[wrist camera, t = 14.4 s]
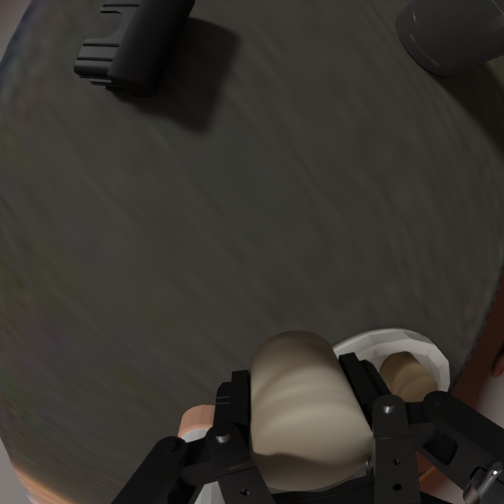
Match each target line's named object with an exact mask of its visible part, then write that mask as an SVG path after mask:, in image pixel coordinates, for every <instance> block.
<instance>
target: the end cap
mask: <svg viewBox="0 0 504 504" xmlns="http://www.w3.org/2000/svg"><path fill="white" fill-rule="evenodd" d="M194 3H195V0H106V1H105V3H104V5H103V6H102V8H101V10H100V12H101V13H119V14H121V15H122V16H123V21H122V23H121V25H120V27H119V29H118V30H117V31H116V32H115V33H113V34H112V35H110V36H108V37H106V38H102V39H86V40H85V42H84V44H83V46H82V48H81V51H80V53H79V55H78V57H77V60H76V62H75V65H74V72H75V73H76V74H78V75H79V77H80V78H89V80H88V81H90V82H91V84H92V85H100V86H102V87H103V88H105V89H109V90H117V91H124V92H128V93H129V94H130V95H132V96H137V97H151V96H154V95H155V94H156V92H157V89H158V87H159V84H160V81H161V79H162V76H163V74H164V71H165V68H166V66H167V63H168V61H169V59H170V56H171V54H172V51H173V49H174V47H175V44H176V42H177V40H178V38H179V35H180V33H181V31H182V29H183V27H184V25H185V22H186V20H187V18H188V16H189V14H190V12H191V10H192V8H193V6H194Z"/></svg>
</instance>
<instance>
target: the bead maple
mask: <svg viewBox="0 0 504 504" xmlns="http://www.w3.org/2000/svg"><path fill="white" fill-rule="evenodd" d="M249 453H250V456H251V458H252V460H253V462H255V463H256V465H257V467H258V469H259V471H260V473H261V475H262V477H263V479H264V481H265V483H266V485H267V486H269V487H272V488H275V489H280V490H287V491H304V490H312V489H318V488H322V487H326V486H329V485H332V484H334V483H337V482H339V481H341V480H343V479H345V478H347V477H349V476H350V475H352V474H353V473H355V472H356V471H357V470H359V469H360V468H361V467H362V466H363V465H364V464H365V463H366V462H367V460H368V459H369V458H370V456H371V453H372V431H371V429H370V427H369V425H368V422H367V420H366V418H365V416H364V414H363V411H362V409H361V407H360V405H359V403H358V401H357V398H356V396H355V394H354V392H353V390H352V388H351V386H350V384H349V381H348V379H347V377H346V375H345V373H344V371H343V369H342V367H341V365H340V363H339V360H338V358H337V356H336V354H335V352H334V350H333V348H332V346H331V345H330V344H329V343H328V342H327V341H326V340H325V339H324V338H322V337H321V336H319V335H317V334H315V333H312V332H307V331H288V332H283V333H280V334H277V335H275V336H273V337H271V338H269V339H267V340H266V341H264V342H263V343H262V344H261V345H260V346H259V347H258V348H257V349H256V350H255V352H254V353H253V355H252V357H251V360H250V363H249Z"/></svg>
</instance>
